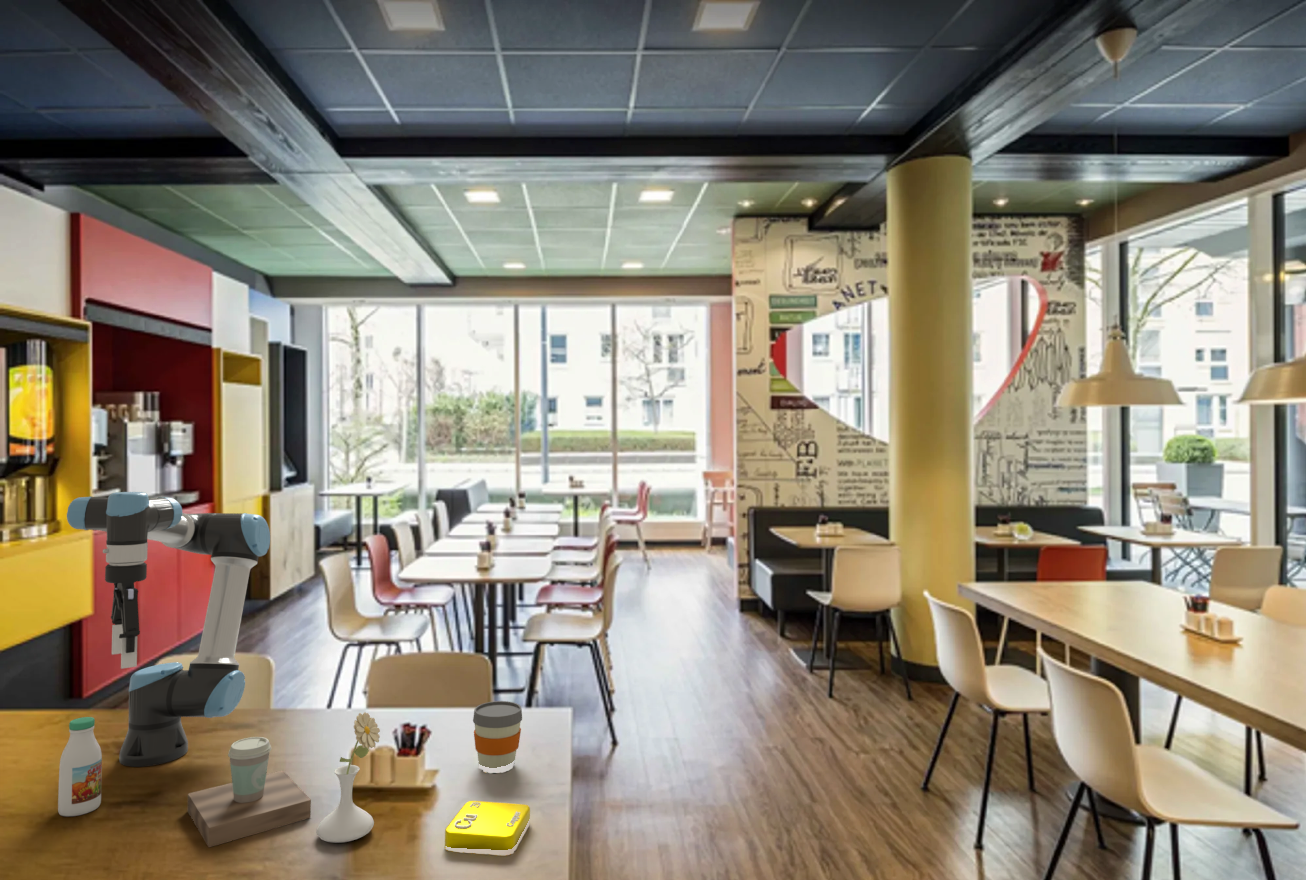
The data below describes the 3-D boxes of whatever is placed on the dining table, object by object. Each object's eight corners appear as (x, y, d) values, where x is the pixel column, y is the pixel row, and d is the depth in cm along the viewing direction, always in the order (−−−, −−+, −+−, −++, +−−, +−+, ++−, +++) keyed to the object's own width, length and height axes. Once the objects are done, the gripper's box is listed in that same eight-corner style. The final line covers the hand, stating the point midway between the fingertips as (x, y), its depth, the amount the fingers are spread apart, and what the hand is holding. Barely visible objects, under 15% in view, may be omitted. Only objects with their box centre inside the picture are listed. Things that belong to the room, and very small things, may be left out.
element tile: (512, 858, 157) (512, 835, 157) (441, 853, 159) (441, 829, 159) (532, 823, 172) (532, 801, 172) (466, 818, 174) (467, 797, 174)
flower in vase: (338, 854, 157) (342, 730, 157) (304, 838, 163) (307, 719, 163) (391, 828, 168) (394, 712, 168) (357, 813, 174) (360, 702, 174)
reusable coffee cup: (461, 771, 198) (463, 712, 198) (489, 753, 209) (491, 698, 209) (503, 780, 193) (505, 720, 193) (530, 761, 205) (531, 704, 205)
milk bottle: (54, 820, 168) (56, 727, 168) (62, 805, 175) (64, 716, 175) (97, 813, 172) (100, 722, 172) (103, 798, 178) (105, 711, 179)
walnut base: (187, 811, 173) (187, 793, 173) (282, 786, 187) (282, 770, 187) (208, 847, 158) (209, 827, 158) (310, 817, 172) (310, 799, 172)
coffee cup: (251, 807, 167) (253, 752, 167) (217, 803, 169) (219, 748, 169) (278, 790, 176) (280, 737, 176) (245, 786, 177) (247, 734, 177)
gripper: (98, 557, 176) (95, 650, 176) (114, 572, 158) (111, 676, 157) (137, 554, 181) (134, 645, 181) (157, 568, 163) (154, 670, 162)
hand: (123, 660), depth 169 cm, fingers open, 13 cm apart
